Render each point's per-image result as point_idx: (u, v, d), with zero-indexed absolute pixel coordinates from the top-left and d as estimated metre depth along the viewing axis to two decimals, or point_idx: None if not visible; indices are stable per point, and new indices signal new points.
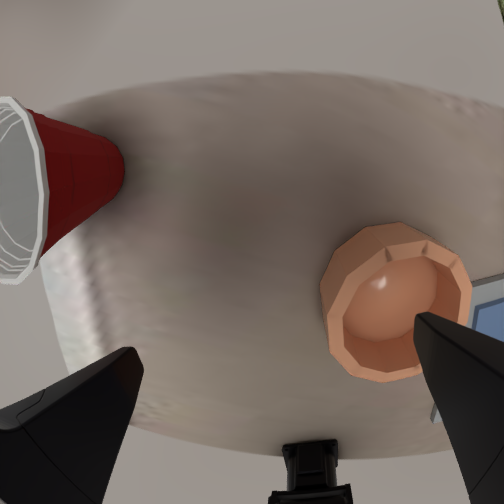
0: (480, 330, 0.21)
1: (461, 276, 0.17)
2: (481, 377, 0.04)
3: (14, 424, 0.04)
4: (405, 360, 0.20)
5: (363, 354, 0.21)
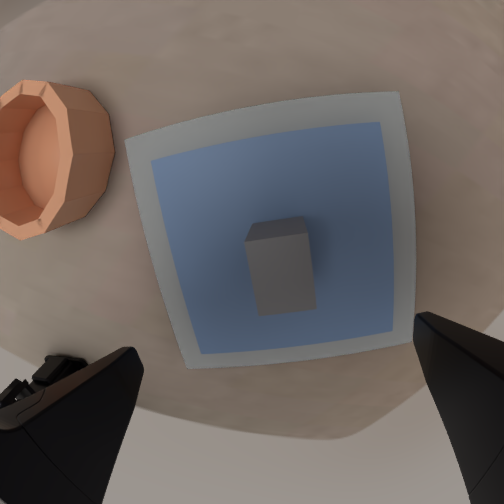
0: (168, 195, 0.18)
1: (52, 101, 0.14)
2: (481, 377, 0.04)
3: (14, 424, 0.04)
4: None
5: (20, 213, 0.18)
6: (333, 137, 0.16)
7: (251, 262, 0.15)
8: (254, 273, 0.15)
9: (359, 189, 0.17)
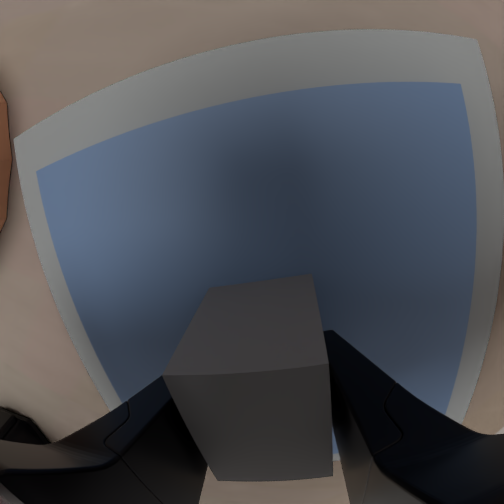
0: (63, 232, 0.09)
1: None
2: (345, 413, 0.05)
3: (106, 454, 0.04)
4: None
5: None
6: (377, 106, 0.07)
7: (186, 413, 0.05)
8: (197, 430, 0.06)
9: (427, 217, 0.08)
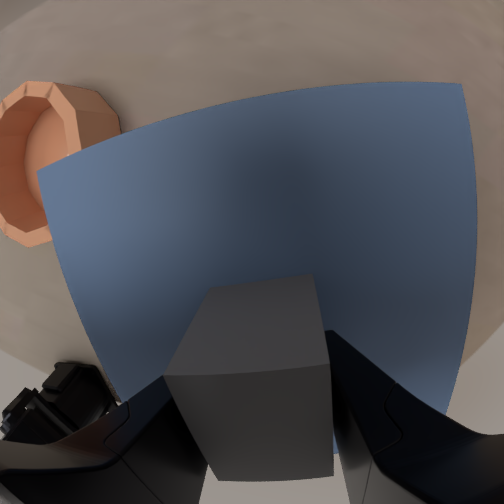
0: (63, 232, 0.09)
1: (59, 102, 0.13)
2: (345, 413, 0.05)
3: (106, 454, 0.04)
4: None
5: (27, 219, 0.18)
6: (378, 106, 0.07)
7: (187, 413, 0.05)
8: (198, 430, 0.06)
9: (427, 217, 0.08)
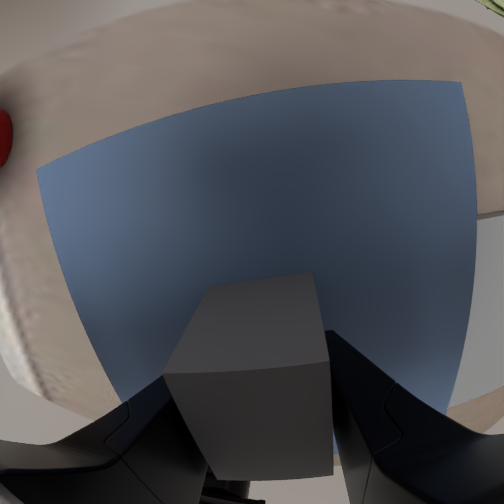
0: (63, 230, 0.09)
1: None
2: (345, 413, 0.05)
3: (105, 454, 0.04)
4: None
5: None
6: (377, 104, 0.07)
7: (186, 411, 0.05)
8: (197, 428, 0.06)
9: (427, 216, 0.08)
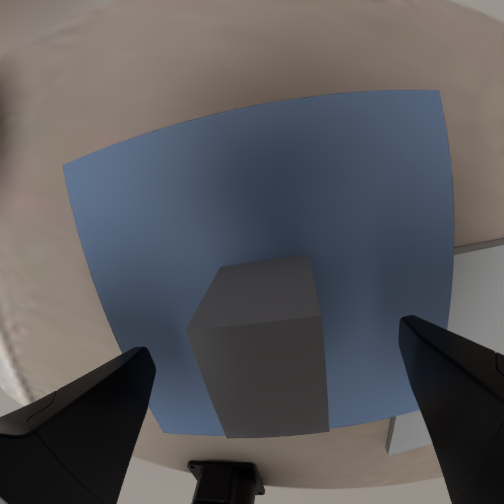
0: (87, 220, 0.10)
1: None
2: (461, 384, 0.04)
3: (25, 429, 0.04)
4: None
5: None
6: (363, 112, 0.08)
7: (204, 365, 0.07)
8: (212, 382, 0.07)
9: (407, 206, 0.09)
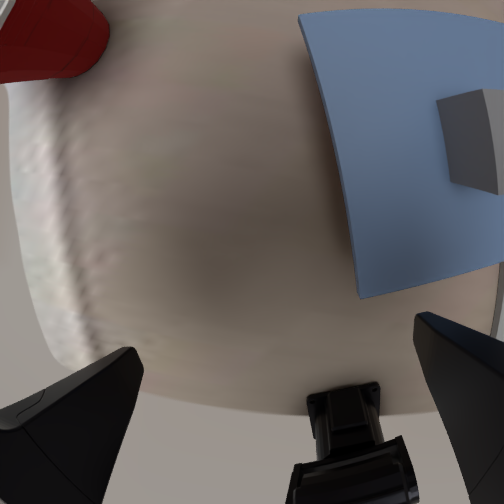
0: (327, 56, 0.11)
1: None
2: (481, 377, 0.04)
3: (14, 424, 0.04)
4: None
5: None
6: (488, 29, 0.09)
7: (491, 116, 0.07)
8: (494, 131, 0.08)
9: None
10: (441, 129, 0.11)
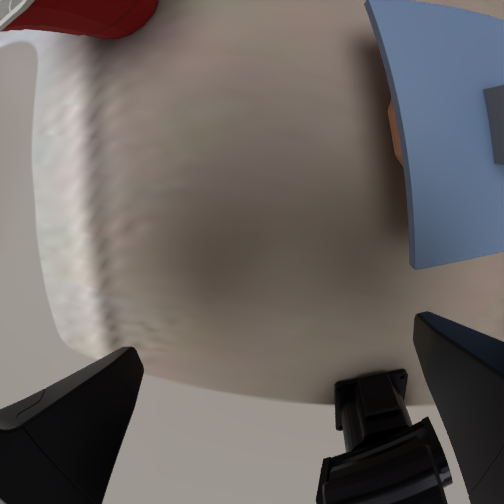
0: (394, 37, 0.10)
1: None
2: (481, 377, 0.04)
3: (14, 424, 0.04)
4: None
5: None
6: None
7: None
8: None
9: None
10: (487, 116, 0.11)
